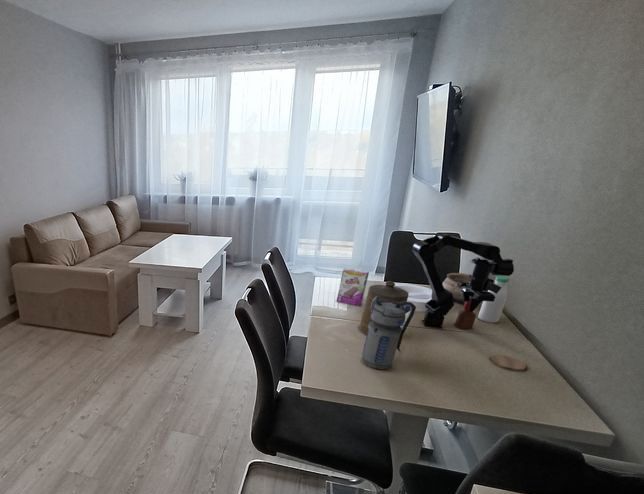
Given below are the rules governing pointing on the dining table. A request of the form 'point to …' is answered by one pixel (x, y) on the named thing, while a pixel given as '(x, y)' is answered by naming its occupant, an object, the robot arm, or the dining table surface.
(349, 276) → the candy bar box
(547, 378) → the dining table surface
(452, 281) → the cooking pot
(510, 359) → the coaster
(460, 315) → the bottle
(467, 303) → the red toy block
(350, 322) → the dining table surface
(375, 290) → the wooden container
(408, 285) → the white circle with bar
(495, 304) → the milk bottle
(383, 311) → the beverage bottle
